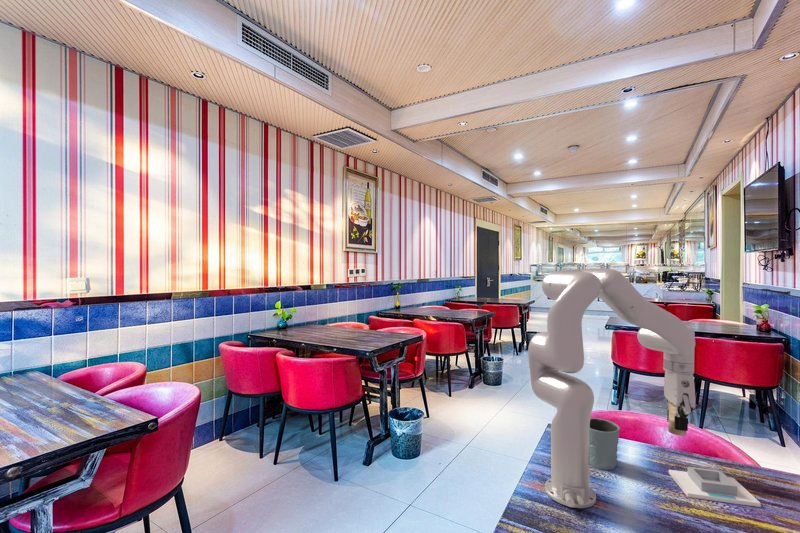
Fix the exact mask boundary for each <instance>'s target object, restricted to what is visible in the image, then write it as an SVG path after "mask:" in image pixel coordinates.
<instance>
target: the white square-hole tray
mask: <svg viewBox="0 0 800 533" xmlns="http://www.w3.org/2000/svg"><path fill="white" fill-rule="evenodd" d="M668 474H669V476H670V477H671V478H672V479H673V480H674V482H675V483H676V484H677V486H679V488H680V490H681V491H683V493H684V494H685V495H686V497H687V498H692V499H699V500H707V501H715V502H723V503H727V504H735V505H741V506H742V505H743V506H749V507H757V508H762V503H761V502H760V501H759V500H758V499H757V498H755V496H754V495H753V494H752V493H750V492H749V491H748V490H747V489H746V488H745V487H744V486H743V485H742V484H741V483H739V482H740V481H737V479H735V478H734V477H733V476H732V477H731V476H727V475H726V474H725V472H723V471H722V470H717V469H710V468H703V467H694V466H687V471H684V470H676V469H675V470H674V469H668Z"/></svg>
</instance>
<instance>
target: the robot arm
mask: <svg viewBox="0 0 800 533" xmlns="http://www.w3.org/2000/svg"><path fill="white" fill-rule="evenodd" d="M541 289H542V292H543V293H544V295H545V296H546V297H547V298H549V299H550V300H552V301H554V302H553V303H552V305H551V307H550V309H549V311H548V313H547V319H546V322H547V323H546V325H547V327H546V328H547V331H540V332H538V333H536V334H534V335H533V337H532V338H530V341H529V344H528V347H527V348H528V349H527V356H528V368H529V376H530V377H529V378H530V385H531V386H530V387H531V390H532V391H533V393H534V395H535V396H536V397H537V398H538V399H540V400H541V401H542V402H545V403H546V404H548V405H550V406H552V407H554V408H556V413H555V415H554V417H553V418H552V421H551V423H550V478H548V479H547V480H545V483H544V491H545V493H546V494H547V495H548V497H549V498H550V499H552V500H553V501H555V502H557V503H558V504H561V505H563V506H566V507H569V508H575V509H586V508H590V507H592V506H594V505H595V504H596V502H597V495H596V492H595V490H594V489H593V488H592V487H591V484H590V483H591V482H590V481H591V479H590V478H591V477H590V476H591V475H590V474H591V473H590V472H591V471H590V470H591V469H590V466H591V465H590V419H591V418H592V412H593V409H594V404H595V394H594V391H593V389H592V387H590V386H589V384H588V383H586V382H585V381H584V380H582V379H580V378H578V377H575V376H573V375H570V374H577V373H579V372H580V371H582V369H583V367H584V364H585V351H584V349H585V348H584V339H583V330H582V328H583V327H582V326H583V317H584V314H585V313H586V311H587V309H588V308H589V307H590V305H592V303H593V302H594V301H595V300H596V299H600V300H602V301H603V302H604V303H605V304H606V306H608V307H609V308H610V310H612V311H613V312H614V313H615V315H617V316H618V318H619V319H620V320H622V321H624V322H626V323H628V324H630V325H632V326H636V327H638V328H639V329H638V332H637V335H636V336H637V340H638V343H640V344H641V346H643V347H644V348H647V349H649V350H652V351H658V352H663V360H662V361H663V364H662V365H663V366H662V368H663V371H664V381H663V395H664V397H665V399H666V402H667V404H666V407H667V410H666V411H667V413H666V414H667V416H666V418H667V419H666V421H667V423H668V418H669V404H674V405H675V406H676V416H675V424H674V428H675V429H676V430H682V431H686V432H688V430H689V428H688V427H689V425H688V424H689V414H691V413H692V409H696V388H695V380H694V375H695V347H696V338H695V329H694V328H693V327H691V326H687V325H686V324H685V323H684V322H683V321H682V320H681V319H680V318H679V317H678V316H676V314H675V315H674V314H672V313H671V312H670V311H667V310H666V309H664V308H662V307H660V306H659V305H657V304H655V303H654V302H651V301H649V300H647V299H646V298H645V297H644V296H643V295H642V294H641V293H640V292H639V291H638V290H637V288H636V287H635V286H634V285H633V284H632V283H631V282H630V281H629V280H628V279H627V277H625V275H624V274H623V273H621V272H620V271H619V270H616V269H613V268H581V269H569V270H554V271H551V272H549V273H547V274H546V275H545V276H544V278H543V279H542V283H541ZM680 405H683V406H680ZM679 408H682V409H683V410H680V411H679Z"/></svg>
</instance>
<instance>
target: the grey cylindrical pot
mask: <svg viewBox="0 0 800 533" xmlns="http://www.w3.org/2000/svg"><path fill="white" fill-rule="evenodd" d="M619 437H620V426H619V425H618V424H617V423H615V422H614V421H611V420H608V419H603V418H598V417H591V419H590V466H592V467H593V468H596V469H600V470H605V471H606V470H607V471H608V470H614V469H616V467H617V461H618V454H617V453H618V445H619V440H620V439H619Z"/></svg>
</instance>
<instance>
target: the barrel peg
mask: <svg viewBox="0 0 800 533" xmlns="http://www.w3.org/2000/svg"><path fill="white" fill-rule="evenodd" d="M680 406H683V404H680ZM668 410H669V418H668V422H667V423H668V426H667V427H668V428H667V430H668V431H667V432H669V433H670V434H673V435H676V436H679V437H680V436H681V437H684V436H685V437H686V436H687V431H682V430H676V429H675V428H674V424H675V416H676V406H675V405H674V404H669V409H668ZM680 410H683V409H682V408H679V411H680Z"/></svg>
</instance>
